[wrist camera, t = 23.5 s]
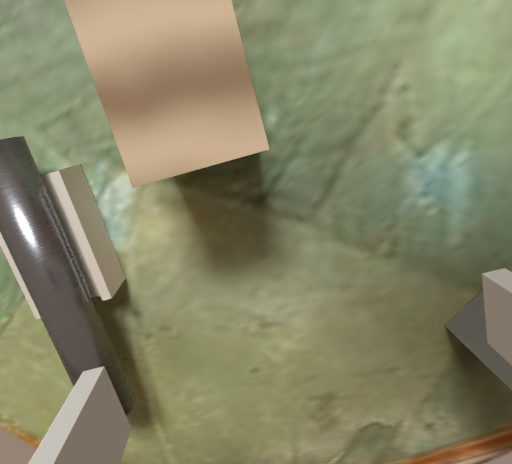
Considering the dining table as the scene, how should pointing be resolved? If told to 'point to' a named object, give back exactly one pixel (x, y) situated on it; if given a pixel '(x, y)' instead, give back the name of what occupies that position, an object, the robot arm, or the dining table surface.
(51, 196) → the cradle
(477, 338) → the perfume bottle
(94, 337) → the axle
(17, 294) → the dining table surface
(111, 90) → the brown wooden block
